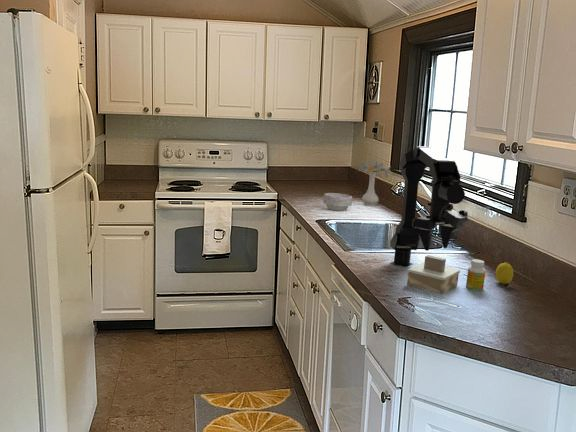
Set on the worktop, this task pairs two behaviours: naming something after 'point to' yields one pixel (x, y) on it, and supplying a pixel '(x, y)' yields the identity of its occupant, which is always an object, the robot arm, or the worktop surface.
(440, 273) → the lid
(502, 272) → the lemon
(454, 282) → the box
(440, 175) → the robot arm
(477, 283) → the supplement bottle
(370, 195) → the flower vase
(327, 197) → the paper bowls
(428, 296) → the worktop surface
